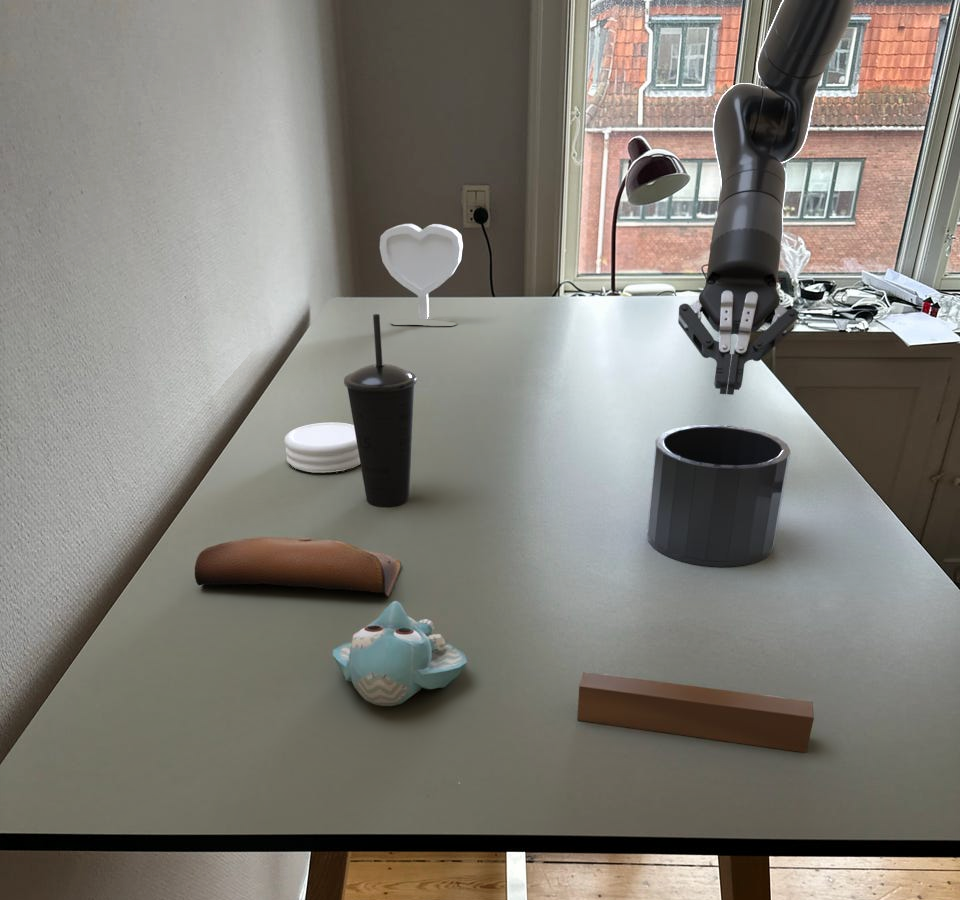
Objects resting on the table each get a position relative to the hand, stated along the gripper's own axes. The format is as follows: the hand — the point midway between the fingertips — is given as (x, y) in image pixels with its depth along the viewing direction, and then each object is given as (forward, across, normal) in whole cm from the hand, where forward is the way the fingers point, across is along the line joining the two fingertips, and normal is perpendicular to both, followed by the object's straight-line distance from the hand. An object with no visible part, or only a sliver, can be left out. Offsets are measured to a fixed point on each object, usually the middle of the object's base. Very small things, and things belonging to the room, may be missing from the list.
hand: (727, 390), depth 97 cm
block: (+40, 0, -23) cm, 46 cm away
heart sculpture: (-48, -59, +66) cm, 100 cm away
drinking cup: (+15, -36, +3) cm, 39 cm away
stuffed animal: (+39, -22, -22) cm, 50 cm away
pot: (+17, 0, 0) cm, 17 cm away
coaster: (+8, -47, +10) cm, 49 cm away
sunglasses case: (+29, -37, -12) cm, 49 cm away
